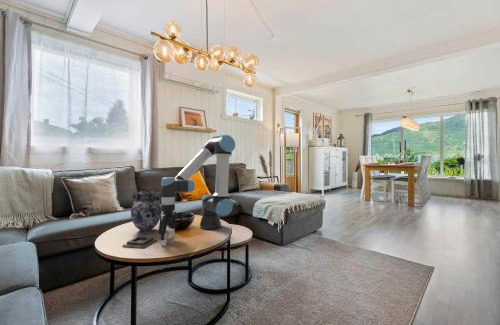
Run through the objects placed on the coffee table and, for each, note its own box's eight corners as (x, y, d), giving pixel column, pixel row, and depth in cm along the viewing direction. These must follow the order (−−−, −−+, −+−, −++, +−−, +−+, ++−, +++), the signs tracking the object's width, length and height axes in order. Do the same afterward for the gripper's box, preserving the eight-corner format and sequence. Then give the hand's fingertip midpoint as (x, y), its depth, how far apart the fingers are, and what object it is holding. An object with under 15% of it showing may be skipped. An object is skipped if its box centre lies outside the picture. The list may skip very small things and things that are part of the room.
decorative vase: (167, 229, 168) (167, 189, 168) (154, 237, 150) (154, 192, 150) (138, 228, 170) (138, 189, 170) (122, 236, 152) (122, 192, 152)
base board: (157, 240, 143) (157, 236, 143) (143, 248, 130) (143, 243, 130) (137, 239, 145) (137, 235, 145) (122, 247, 132) (122, 242, 132)
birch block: (174, 241, 141) (174, 228, 141) (169, 244, 136) (169, 230, 136) (166, 241, 142) (166, 228, 142) (161, 244, 137) (161, 230, 137)
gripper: (171, 200, 150) (171, 236, 150) (151, 207, 129) (151, 248, 129) (182, 201, 149) (182, 237, 149) (164, 207, 128) (163, 249, 127)
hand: (167, 242), depth 139 cm, fingers open, 9 cm apart
